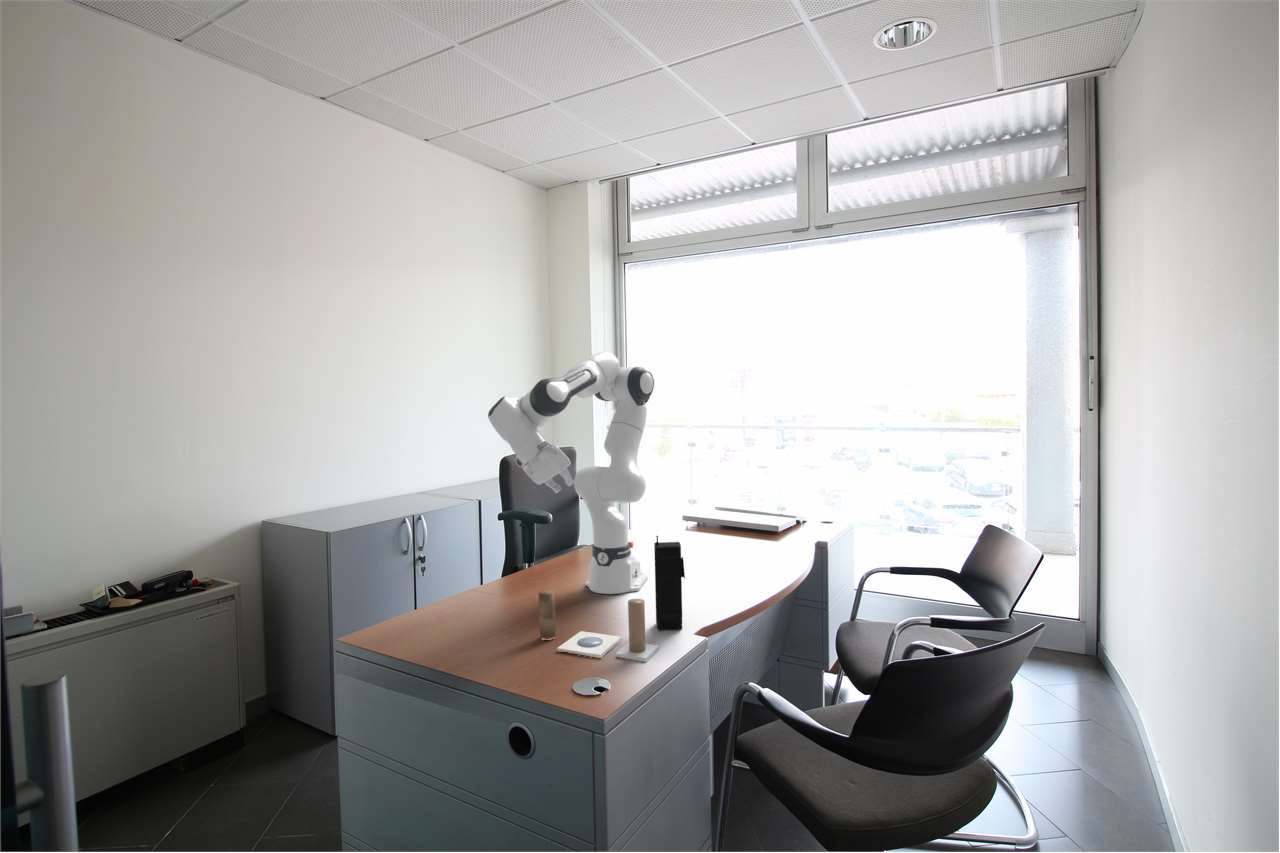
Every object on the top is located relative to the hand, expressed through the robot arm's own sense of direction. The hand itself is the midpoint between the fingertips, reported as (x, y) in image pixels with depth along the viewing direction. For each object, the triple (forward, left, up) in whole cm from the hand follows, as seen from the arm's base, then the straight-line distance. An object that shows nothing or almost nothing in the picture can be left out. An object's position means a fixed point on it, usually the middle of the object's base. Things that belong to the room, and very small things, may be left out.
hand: (565, 487), depth 188 cm
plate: (+14, +14, -37) cm, 42 cm away
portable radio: (-6, +28, -37) cm, 47 cm away
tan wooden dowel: (+14, +27, -37) cm, 48 cm away
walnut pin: (+13, +1, -37) cm, 40 cm away
